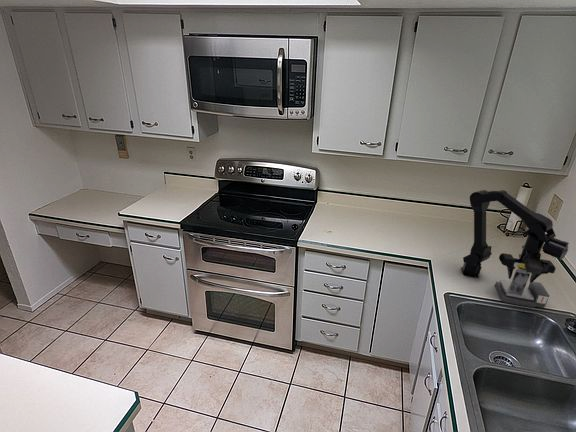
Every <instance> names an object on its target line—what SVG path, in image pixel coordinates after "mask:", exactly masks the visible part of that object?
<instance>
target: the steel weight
mask: <svg viewBox="0 0 576 432" xmlns="http://www.w3.org/2000/svg"><path fill="white" fill-rule="evenodd" d="M530 277H531V273H529V272H527V271H525V270H522V269H519V268H516V270H515V272H514V274H513V277H512V280H511V281H510V282H511V284H510V288H511V289H512V290H514V291H516V292H523V291H524V288H525V286H526V285H527V284H528V280H529V279H530Z"/></svg>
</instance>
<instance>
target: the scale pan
mask: <svg viewBox="0 0 576 432" xmlns="http://www.w3.org/2000/svg"><path fill="white" fill-rule="evenodd" d="M499 282H500V284H501V286H502V288H503V290H504V292H505V294H506V295H507V296H513V297H518V298H524V299H529V300H534V297H533V295H532V294H531V292H530V290H529V289H528V285H527V284H526V286H525V288H524V291H523V292H516V291H514V290H512V289H511V288H510V284H511V282H512V281H510V280H505V279H504V280H503V279H500V280H499Z"/></svg>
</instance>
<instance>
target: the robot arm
mask: <svg viewBox="0 0 576 432" xmlns="http://www.w3.org/2000/svg"><path fill="white" fill-rule="evenodd" d="M492 202H498V203H499V204H501V205H502V206H504V207H505V208H507V209H508V210H509V211H510V212H511V213H513V214H514V215H516V216H517V217H518V218H519V219H521V221H523V223H524V225H525V227H527V228H528V229H526V230H525V231H522V234H523V235H526V236H527V237H526V240H525V243H524V245H522V247H521V248H522V250H521V253H519V254H518V258H517V257H514V256H513V255H512V254H510V253H503V252H502V253H500V255H499V257H498V260H499V261H500V263H501V265H503V266H505V267H506V268H507V276H508V279H509V280H511V278H512V276H513V272H514V270H515V269H516V267H515V264H519V265H520V264H524V265H525V270H526V271H527V272H528V273H529V274H530V276H529V284H530V283H532V282H535V280H536V279H538V278H539V277H540V276H541V275H548V274H554V273H555V272H556V269H557V268H556V266H555V264H554V263H552V261H551V260H549V259H542V258H541V257H542V254H541V253H540V252H543V253H544V254H546V255H548V256H550V257H553V258H555V259H558V260H561V261H562V260H563V259H564V258H565V256H566V255H567V253H568V252H569V244H570V243H569V242H567V241H564V240H561V239H558V238H556V236H557V235H556V234H555V231H554V229H553V221H552V219H550V217H547V216H546V215H543V214H542V213H540V212H539V213H537V212H535V211H533V210H532V209H530V208H528V207H527V206H526V205H524V204H523V203H521V202H520V201H519V200H517V199H516V198H515V197H513V196H512V195H510V194H509V193H508V192H507V191H506V190H504V189H501V190H492V191H491V190H489V191H488V190H486V189H481V190H477V191H474V192H471V194H470V196H469V204H470V207H471V209H472V211H473V244H472V247H471V249H470V252H469V254H468V255H465V256H463V257H462V259H463V265H462V267H460V268H461V273H462V275H464V276H466V277H471V278H472V277H473V278H479V275H480V273H481V272H482V271H481V270H482V263H483V262H485V261H487V260H489V259H490V257H491V256H492V255H493V254H492V253H493V252H492V245H488V243H487V211H488V209H489V206H490V203H492ZM541 249H542V250H541Z"/></svg>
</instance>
